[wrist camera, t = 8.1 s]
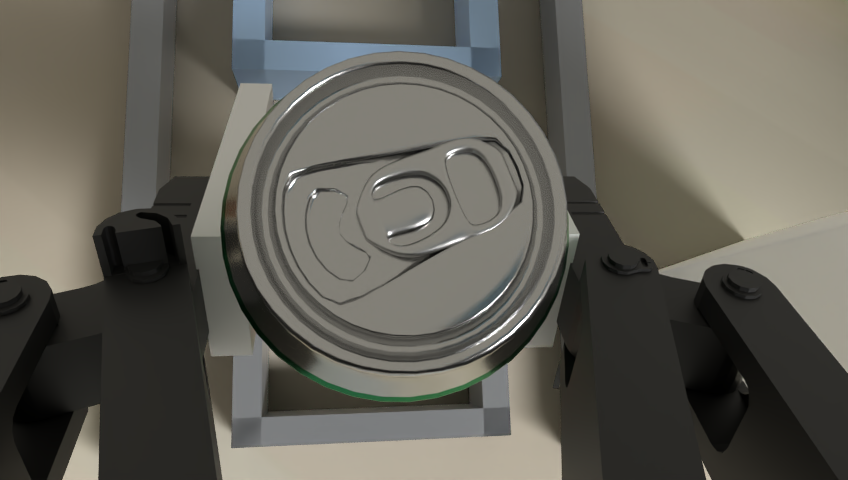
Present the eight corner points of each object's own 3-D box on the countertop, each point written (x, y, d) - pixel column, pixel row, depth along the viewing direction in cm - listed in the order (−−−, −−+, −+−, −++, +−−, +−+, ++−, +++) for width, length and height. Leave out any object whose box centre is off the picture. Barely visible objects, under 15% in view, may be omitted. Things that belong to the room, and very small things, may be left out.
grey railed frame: (556, -117, 32) (579, -165, 29) (595, 448, 27) (627, 459, 24) (153, -145, 29) (133, -201, 26) (125, 472, 25) (97, 487, 22)
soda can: (264, 244, 20) (149, 87, 8) (418, 190, 21) (510, -21, 9) (320, 403, 19) (283, 475, 8) (476, 341, 20) (656, 320, 9)
